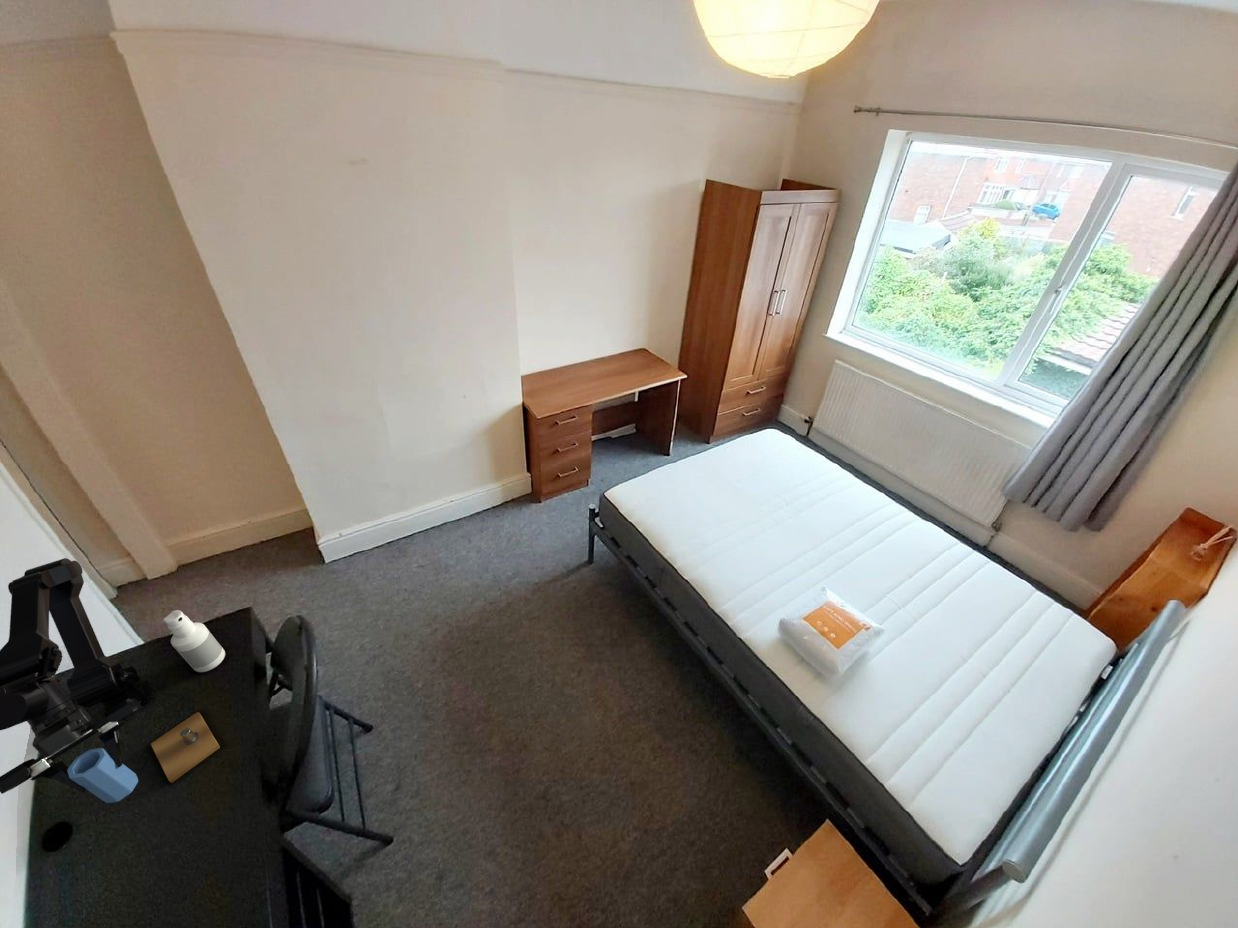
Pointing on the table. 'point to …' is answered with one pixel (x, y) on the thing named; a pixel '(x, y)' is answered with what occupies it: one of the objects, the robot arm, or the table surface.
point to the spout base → (184, 746)
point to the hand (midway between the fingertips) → (102, 778)
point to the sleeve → (102, 775)
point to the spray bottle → (194, 642)
